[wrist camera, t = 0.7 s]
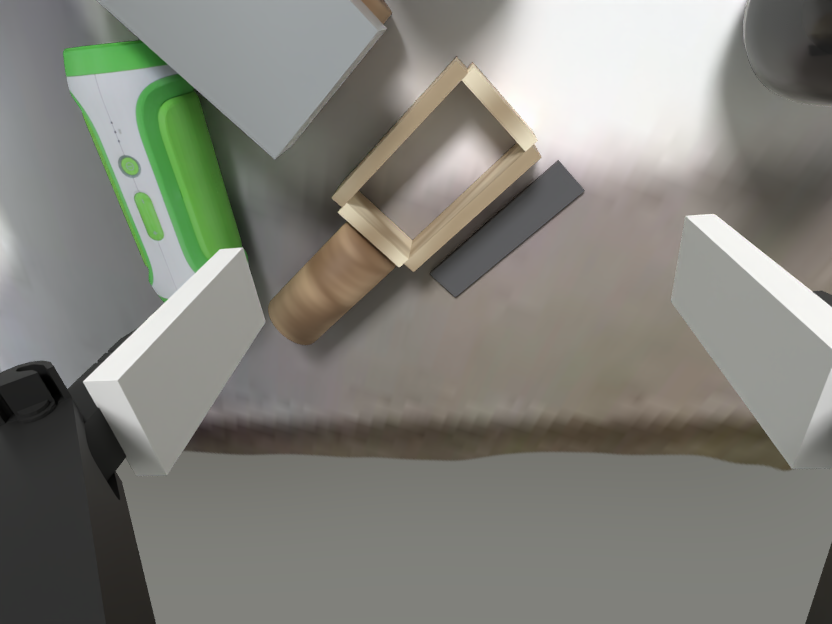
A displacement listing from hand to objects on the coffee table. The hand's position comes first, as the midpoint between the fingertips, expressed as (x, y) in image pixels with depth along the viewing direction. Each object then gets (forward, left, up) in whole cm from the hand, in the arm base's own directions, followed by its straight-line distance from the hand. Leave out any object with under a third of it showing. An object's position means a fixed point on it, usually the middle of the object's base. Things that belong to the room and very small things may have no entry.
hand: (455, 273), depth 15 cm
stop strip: (+8, -3, -23) cm, 25 cm away
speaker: (-12, -16, -24) cm, 31 cm away
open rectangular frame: (+1, -3, -23) cm, 23 cm away
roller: (+1, -15, -23) cm, 28 cm away
